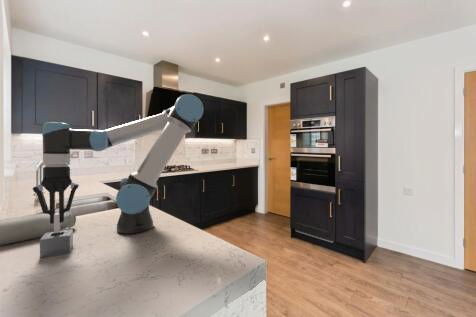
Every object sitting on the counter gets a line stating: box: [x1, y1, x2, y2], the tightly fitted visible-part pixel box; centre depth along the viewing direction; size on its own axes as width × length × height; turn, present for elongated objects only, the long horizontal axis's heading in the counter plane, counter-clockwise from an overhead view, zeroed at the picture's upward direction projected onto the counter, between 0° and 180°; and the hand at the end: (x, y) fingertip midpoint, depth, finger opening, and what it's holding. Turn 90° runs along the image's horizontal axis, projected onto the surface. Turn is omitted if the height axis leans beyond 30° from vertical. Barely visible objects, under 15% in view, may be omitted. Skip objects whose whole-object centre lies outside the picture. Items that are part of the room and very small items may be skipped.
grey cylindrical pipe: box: [0, 211, 77, 246], centre depth 94 cm, size 10×10×28 cm
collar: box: [39, 228, 74, 258], centre depth 79 cm, size 8×8×6 cm
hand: (57, 231), depth 80 cm, fingers closed
